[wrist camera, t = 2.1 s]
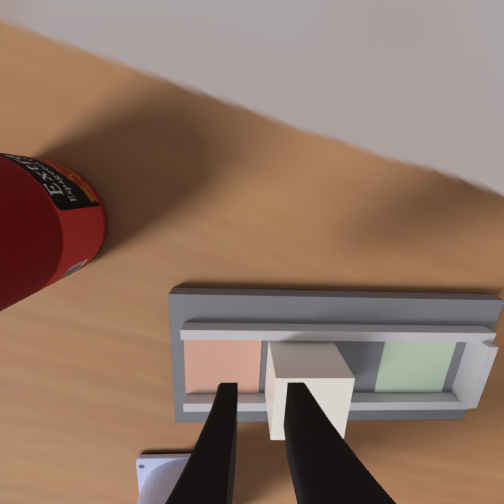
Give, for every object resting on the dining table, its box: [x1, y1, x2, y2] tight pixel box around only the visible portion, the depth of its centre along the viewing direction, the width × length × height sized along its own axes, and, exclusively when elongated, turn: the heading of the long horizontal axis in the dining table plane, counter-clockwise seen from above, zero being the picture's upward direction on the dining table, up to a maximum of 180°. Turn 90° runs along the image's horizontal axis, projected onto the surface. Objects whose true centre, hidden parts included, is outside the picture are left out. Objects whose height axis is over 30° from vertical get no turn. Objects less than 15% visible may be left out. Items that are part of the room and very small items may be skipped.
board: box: [168, 287, 504, 423], centre depth 20 cm, size 12×26×3 cm, turn 88°
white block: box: [265, 340, 355, 440], centre depth 18 cm, size 5×5×4 cm
